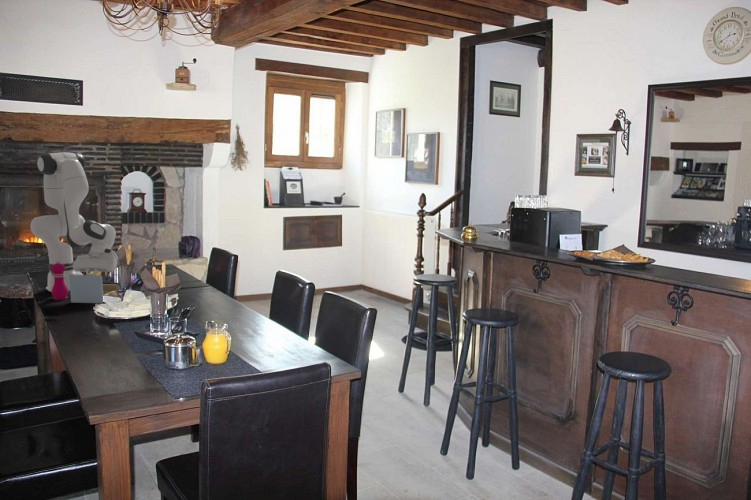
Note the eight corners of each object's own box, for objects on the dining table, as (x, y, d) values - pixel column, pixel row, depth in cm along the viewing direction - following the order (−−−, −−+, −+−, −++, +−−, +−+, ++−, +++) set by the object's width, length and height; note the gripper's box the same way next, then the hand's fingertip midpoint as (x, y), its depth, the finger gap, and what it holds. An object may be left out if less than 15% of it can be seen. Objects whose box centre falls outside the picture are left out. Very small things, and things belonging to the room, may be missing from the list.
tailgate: (72, 302, 309) (70, 274, 307) (104, 303, 307) (102, 275, 305) (70, 303, 308) (68, 275, 306) (102, 304, 306) (101, 275, 304)
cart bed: (88, 297, 323) (87, 283, 322) (118, 298, 322) (117, 284, 320) (73, 304, 309) (72, 290, 308) (104, 305, 308) (103, 290, 307)
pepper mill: (72, 299, 319) (69, 259, 316) (63, 303, 312) (60, 261, 309) (57, 299, 320) (54, 258, 317) (49, 302, 313) (45, 261, 310)
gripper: (75, 250, 315) (65, 274, 307) (116, 250, 313) (107, 274, 305) (81, 258, 320) (71, 281, 312) (121, 258, 318) (113, 281, 310)
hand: (89, 277), depth 308 cm, fingers closed
